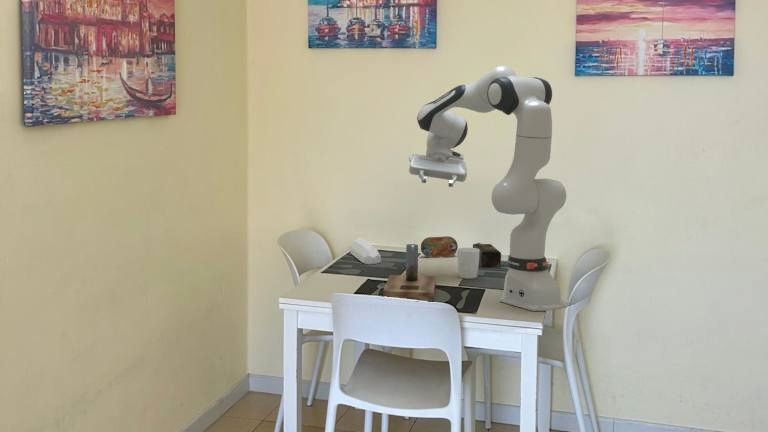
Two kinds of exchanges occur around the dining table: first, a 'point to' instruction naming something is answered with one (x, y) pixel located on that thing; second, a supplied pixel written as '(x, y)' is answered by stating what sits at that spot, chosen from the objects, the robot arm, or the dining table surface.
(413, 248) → the pin
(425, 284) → the socket block
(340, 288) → the dining table surface
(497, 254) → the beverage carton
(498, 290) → the dining table surface
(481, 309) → the dining table surface
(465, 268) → the white cup
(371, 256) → the white rounded block
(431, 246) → the tin
